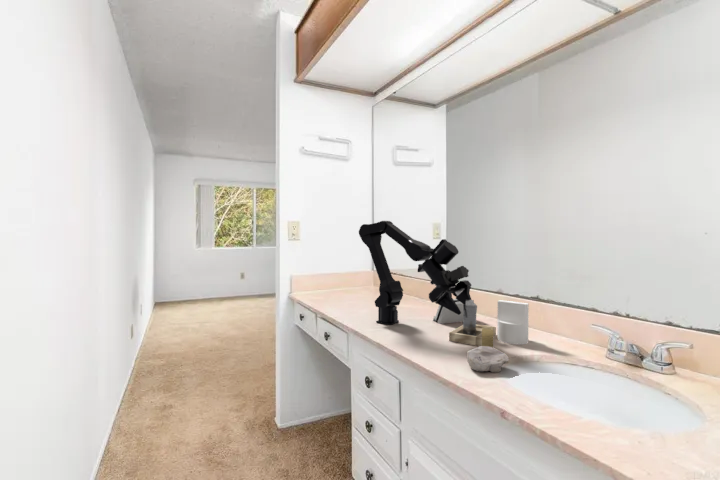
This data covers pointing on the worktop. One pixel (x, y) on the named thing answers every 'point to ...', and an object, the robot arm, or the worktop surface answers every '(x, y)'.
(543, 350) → the worktop surface
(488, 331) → the square bit
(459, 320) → the grey curved block
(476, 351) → the fossil
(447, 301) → the robot arm
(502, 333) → the cylinder with rectangular tab
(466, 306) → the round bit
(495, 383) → the worktop surface
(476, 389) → the worktop surface
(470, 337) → the block
